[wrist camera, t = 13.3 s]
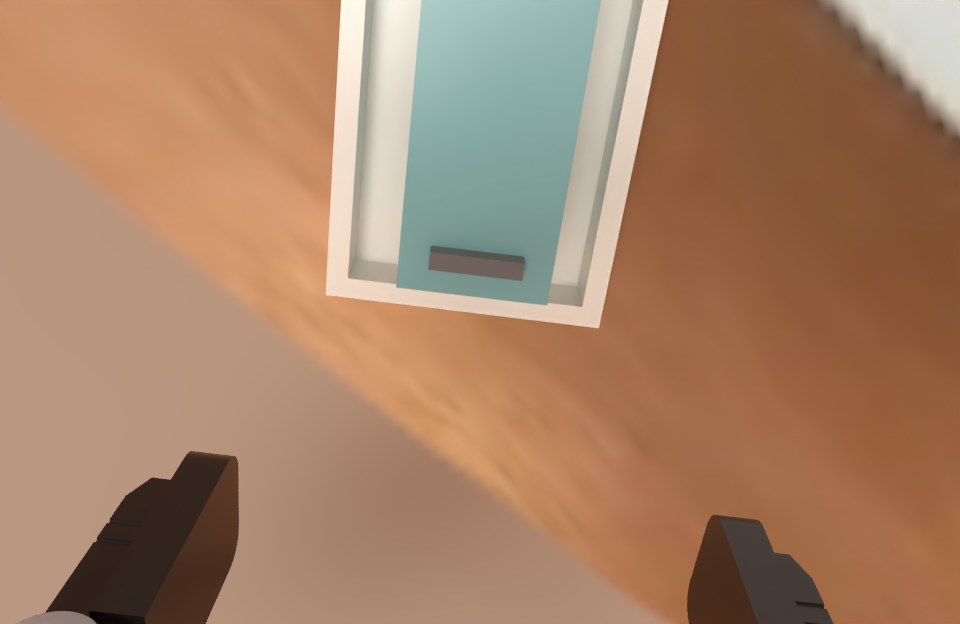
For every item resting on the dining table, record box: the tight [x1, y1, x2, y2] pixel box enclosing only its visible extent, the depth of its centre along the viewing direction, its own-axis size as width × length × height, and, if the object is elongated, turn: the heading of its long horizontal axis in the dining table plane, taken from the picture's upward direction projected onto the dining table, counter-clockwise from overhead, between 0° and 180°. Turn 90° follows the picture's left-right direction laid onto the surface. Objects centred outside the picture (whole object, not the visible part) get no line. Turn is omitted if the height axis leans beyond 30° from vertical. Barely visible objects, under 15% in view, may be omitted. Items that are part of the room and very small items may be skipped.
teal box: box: [396, 0, 601, 305], centre depth 26 cm, size 5×13×7 cm, turn 173°
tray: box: [326, 0, 668, 328], centre depth 29 cm, size 11×18×3 cm, turn 173°
